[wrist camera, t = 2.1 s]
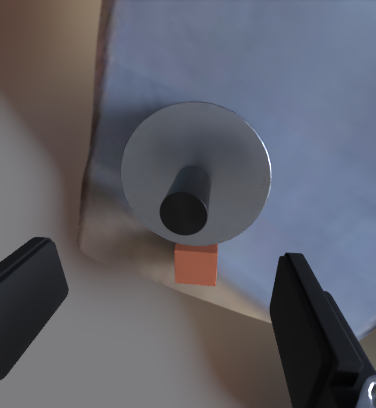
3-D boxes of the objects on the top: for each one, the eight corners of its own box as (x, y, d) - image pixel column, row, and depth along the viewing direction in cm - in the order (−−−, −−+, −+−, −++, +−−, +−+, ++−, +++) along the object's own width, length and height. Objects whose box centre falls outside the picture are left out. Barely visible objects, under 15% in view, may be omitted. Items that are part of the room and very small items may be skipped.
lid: (188, 61, 16) (169, 40, 10) (300, 177, 19) (339, 215, 13) (100, 180, 21) (52, 214, 15) (198, 260, 23) (191, 316, 17)
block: (180, 227, 31) (174, 250, 26) (217, 230, 30) (217, 253, 26) (181, 257, 33) (175, 283, 28) (216, 260, 32) (215, 286, 28)
